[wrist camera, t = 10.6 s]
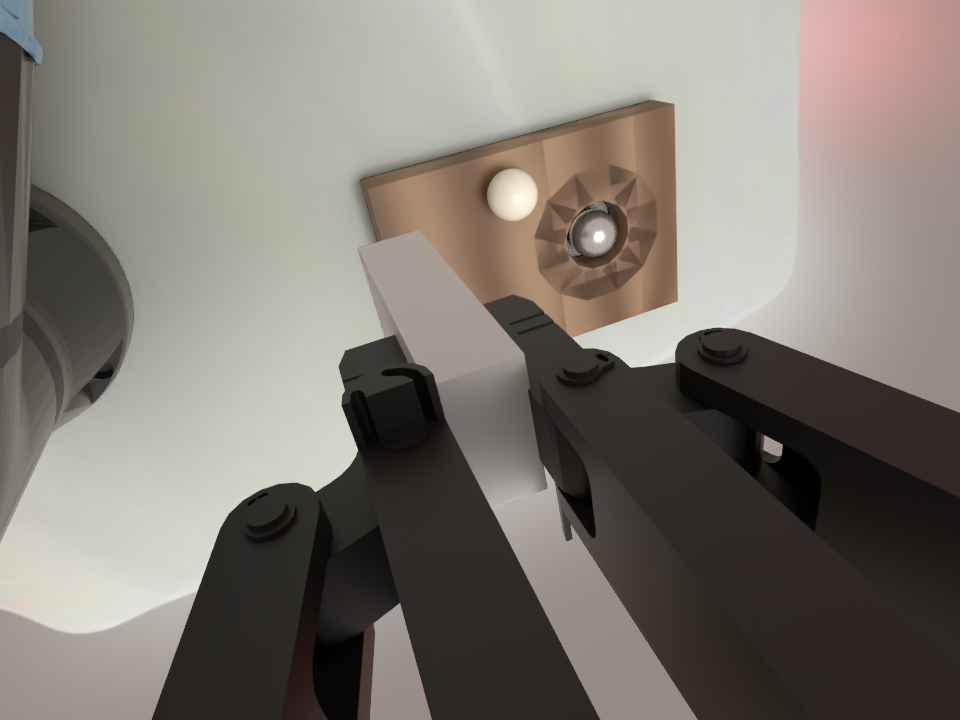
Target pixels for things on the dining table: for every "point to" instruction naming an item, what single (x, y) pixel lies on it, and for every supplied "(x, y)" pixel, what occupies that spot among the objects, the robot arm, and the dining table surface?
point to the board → (552, 216)
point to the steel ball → (593, 233)
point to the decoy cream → (512, 194)
